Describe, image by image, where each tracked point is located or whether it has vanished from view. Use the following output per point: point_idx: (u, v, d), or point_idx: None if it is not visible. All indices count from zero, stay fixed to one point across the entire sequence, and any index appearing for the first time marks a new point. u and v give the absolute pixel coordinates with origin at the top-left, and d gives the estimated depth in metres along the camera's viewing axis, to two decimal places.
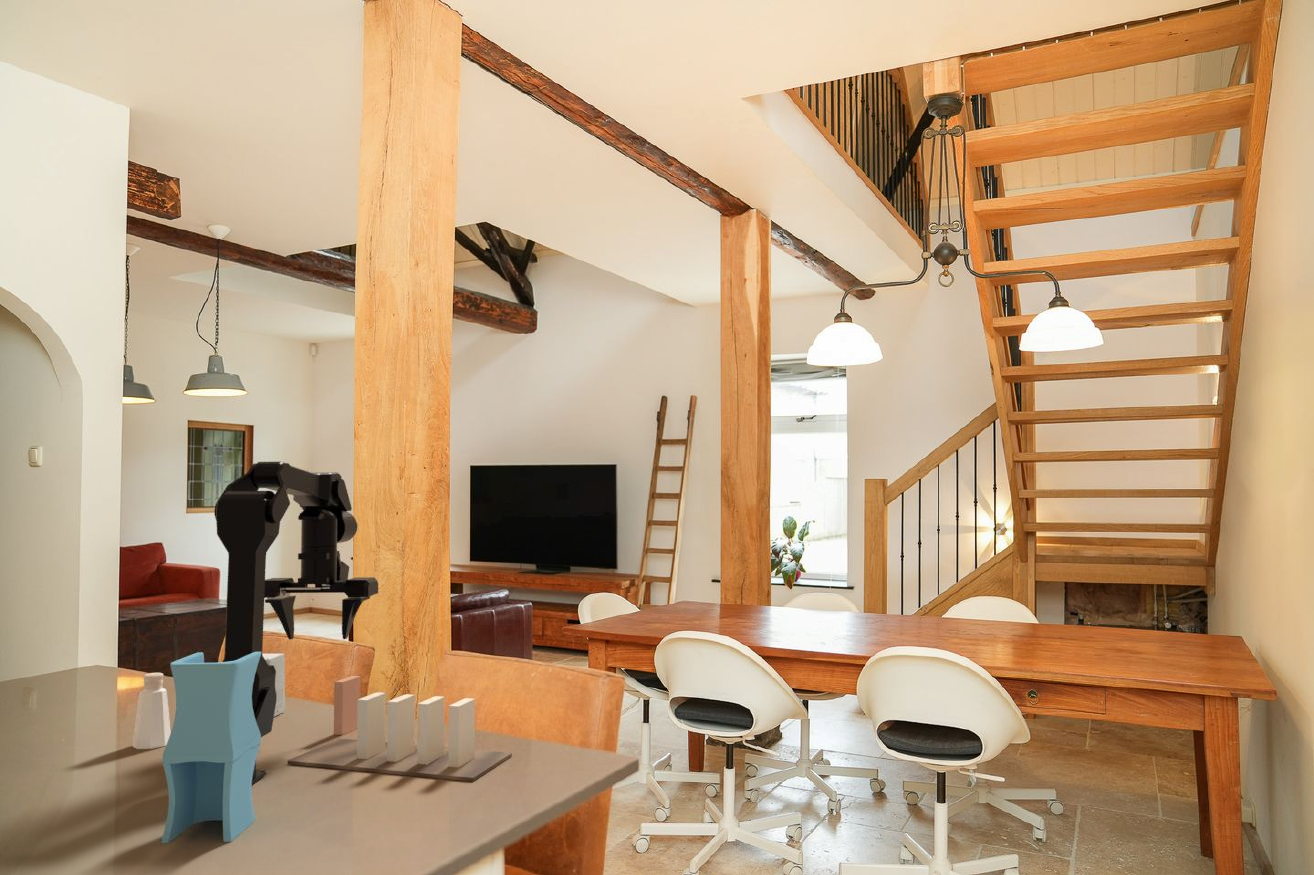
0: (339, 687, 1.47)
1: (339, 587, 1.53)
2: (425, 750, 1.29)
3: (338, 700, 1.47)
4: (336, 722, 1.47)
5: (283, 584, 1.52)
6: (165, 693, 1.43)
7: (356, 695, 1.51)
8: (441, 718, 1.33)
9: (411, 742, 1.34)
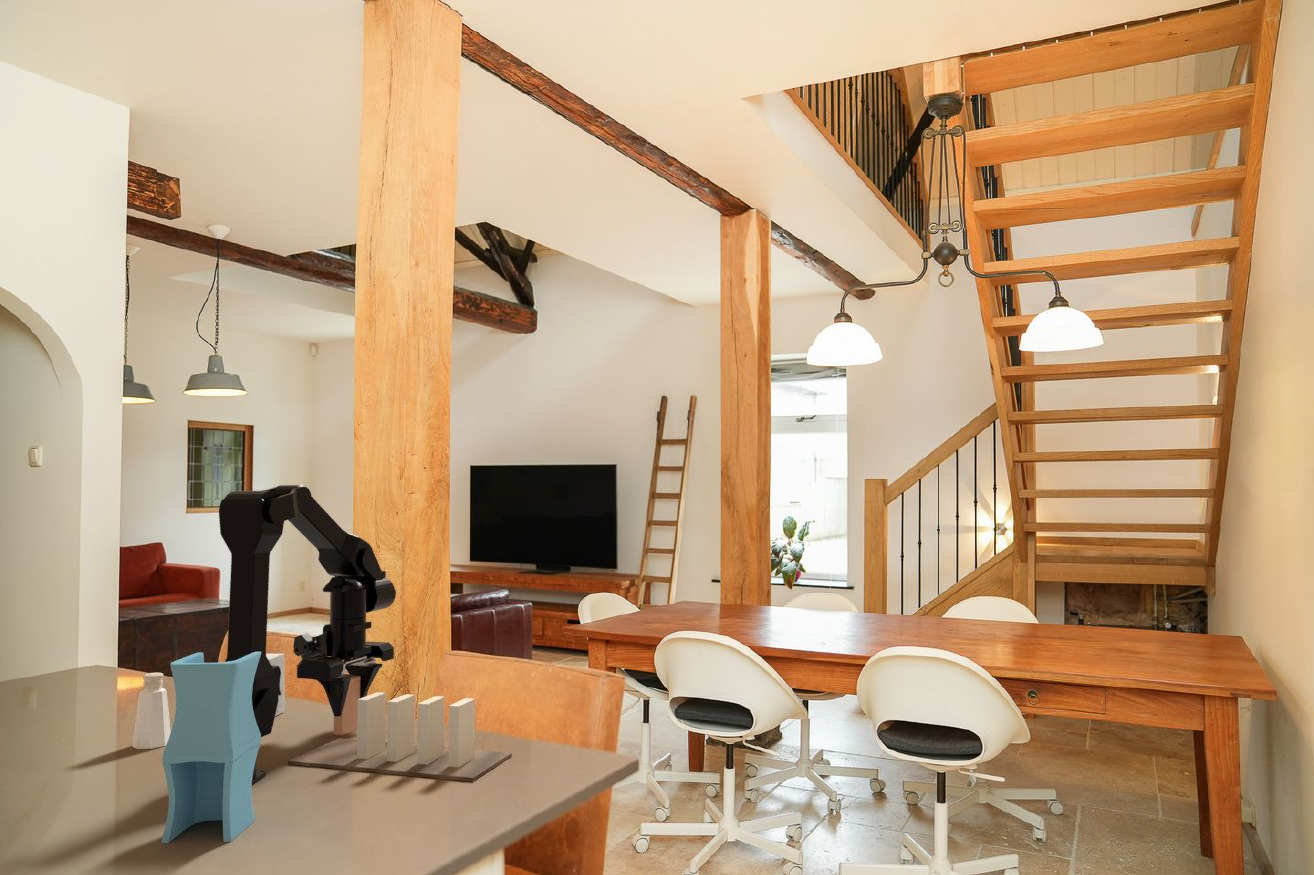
0: None
1: (363, 655, 1.53)
2: (425, 750, 1.29)
3: None
4: (336, 722, 1.47)
5: None
6: (165, 693, 1.43)
7: (356, 695, 1.51)
8: (441, 718, 1.33)
9: (411, 742, 1.34)
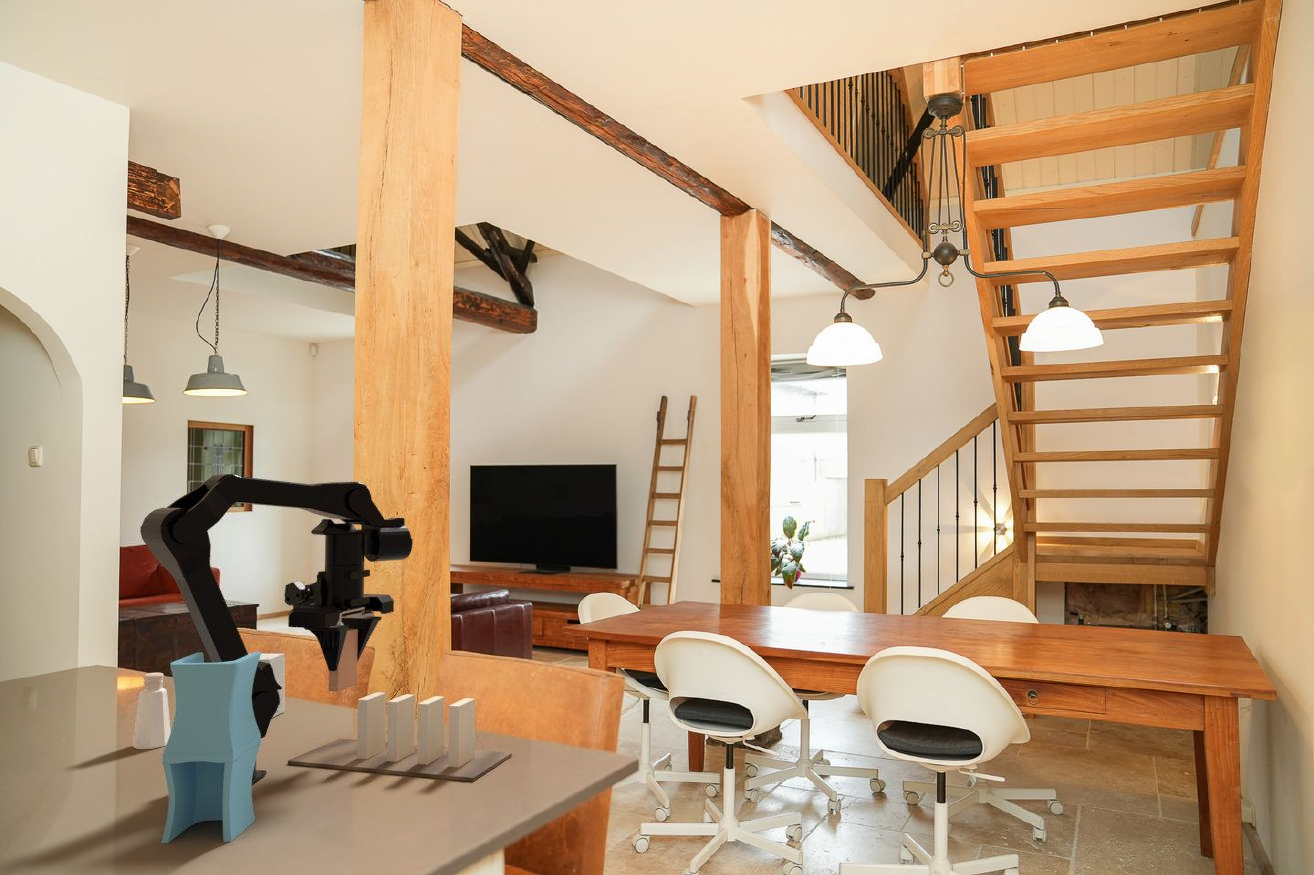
0: None
1: (361, 606, 1.41)
2: (425, 750, 1.29)
3: None
4: (331, 677, 1.35)
5: None
6: (165, 693, 1.43)
7: (353, 650, 1.38)
8: (441, 718, 1.33)
9: (411, 742, 1.34)
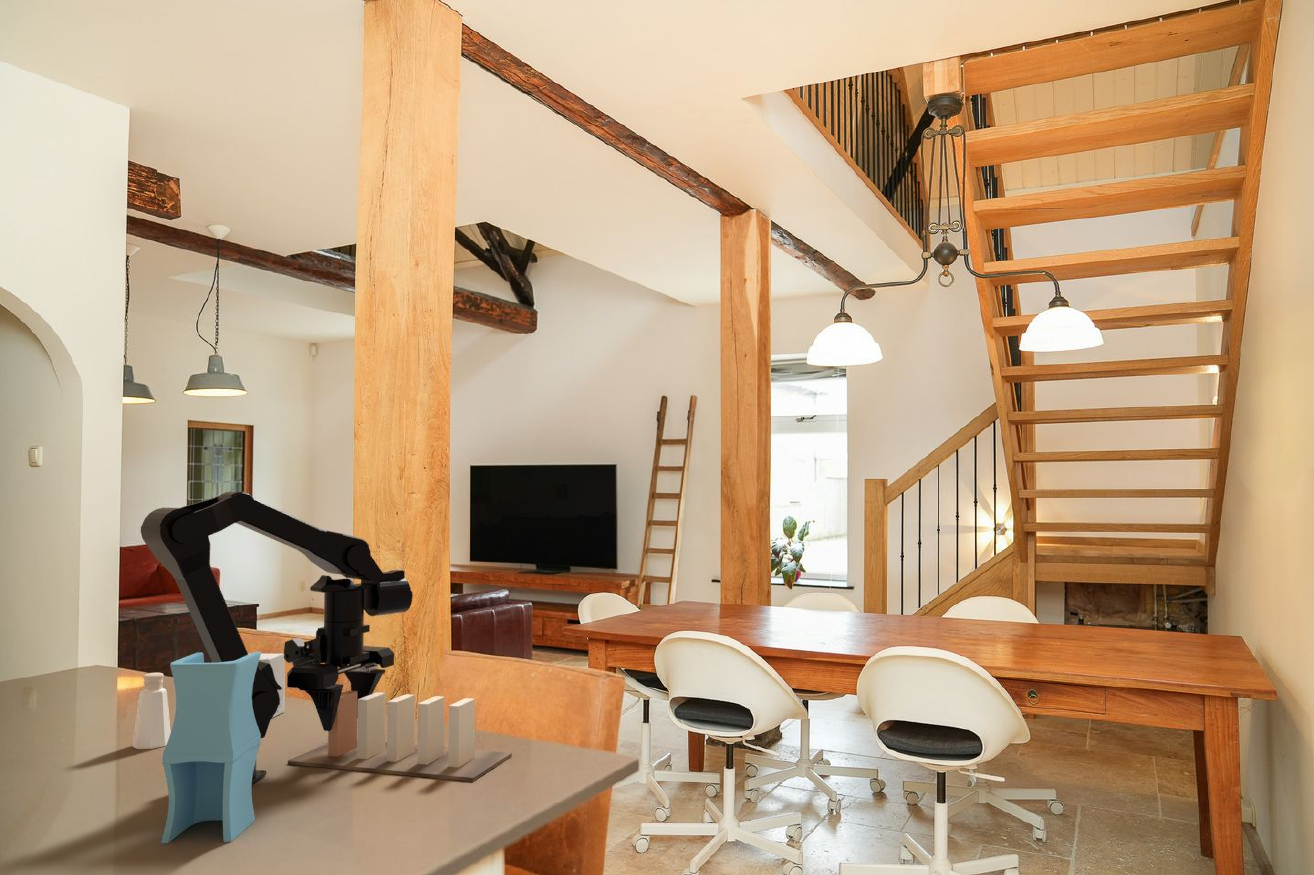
0: None
1: (361, 661, 1.40)
2: (425, 750, 1.29)
3: None
4: (331, 742, 1.34)
5: None
6: (165, 693, 1.43)
7: (352, 712, 1.37)
8: (441, 718, 1.33)
9: (411, 742, 1.34)
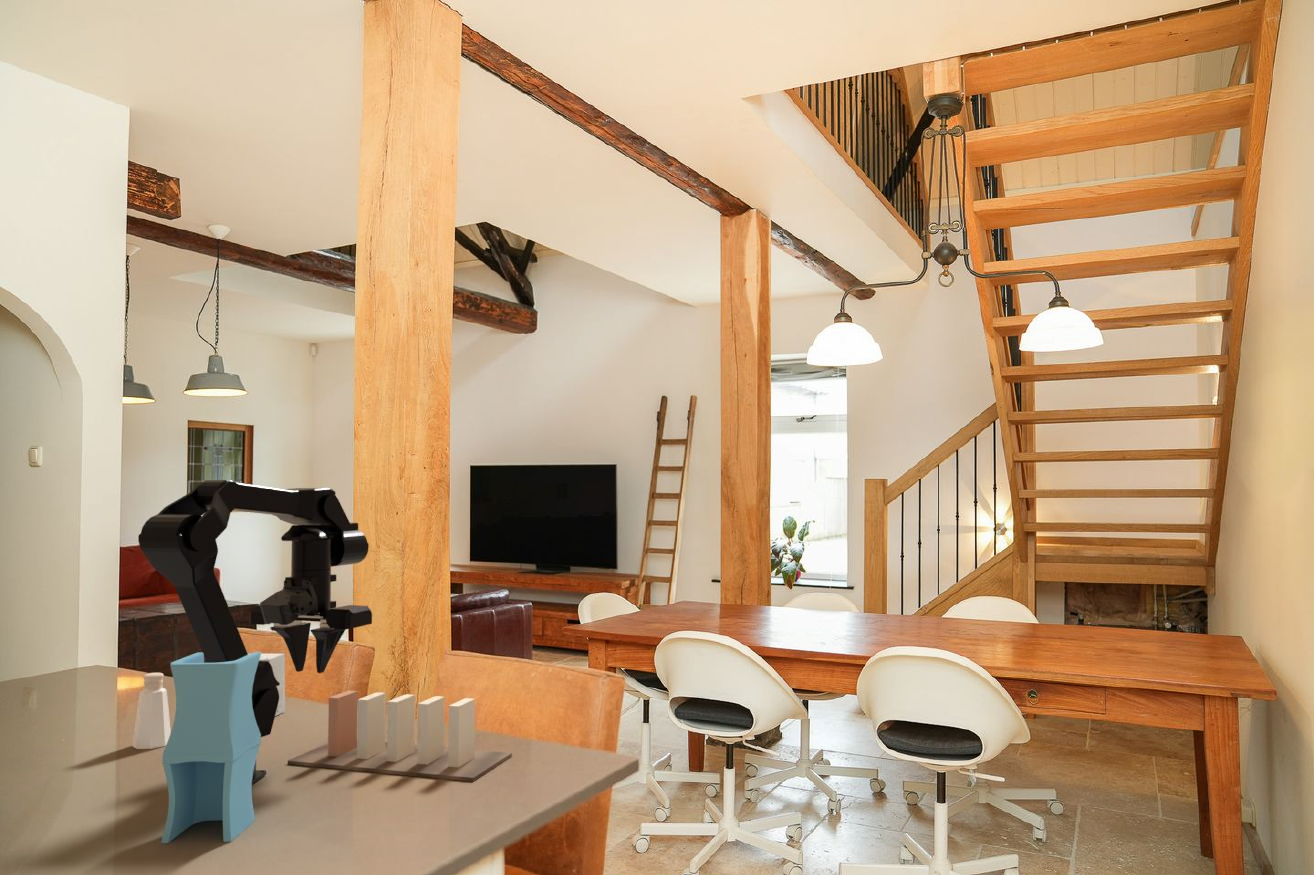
0: (334, 703, 1.34)
1: None
2: (425, 750, 1.29)
3: (332, 718, 1.34)
4: (331, 742, 1.34)
5: None
6: (165, 693, 1.43)
7: (352, 712, 1.37)
8: (441, 718, 1.33)
9: (411, 742, 1.34)
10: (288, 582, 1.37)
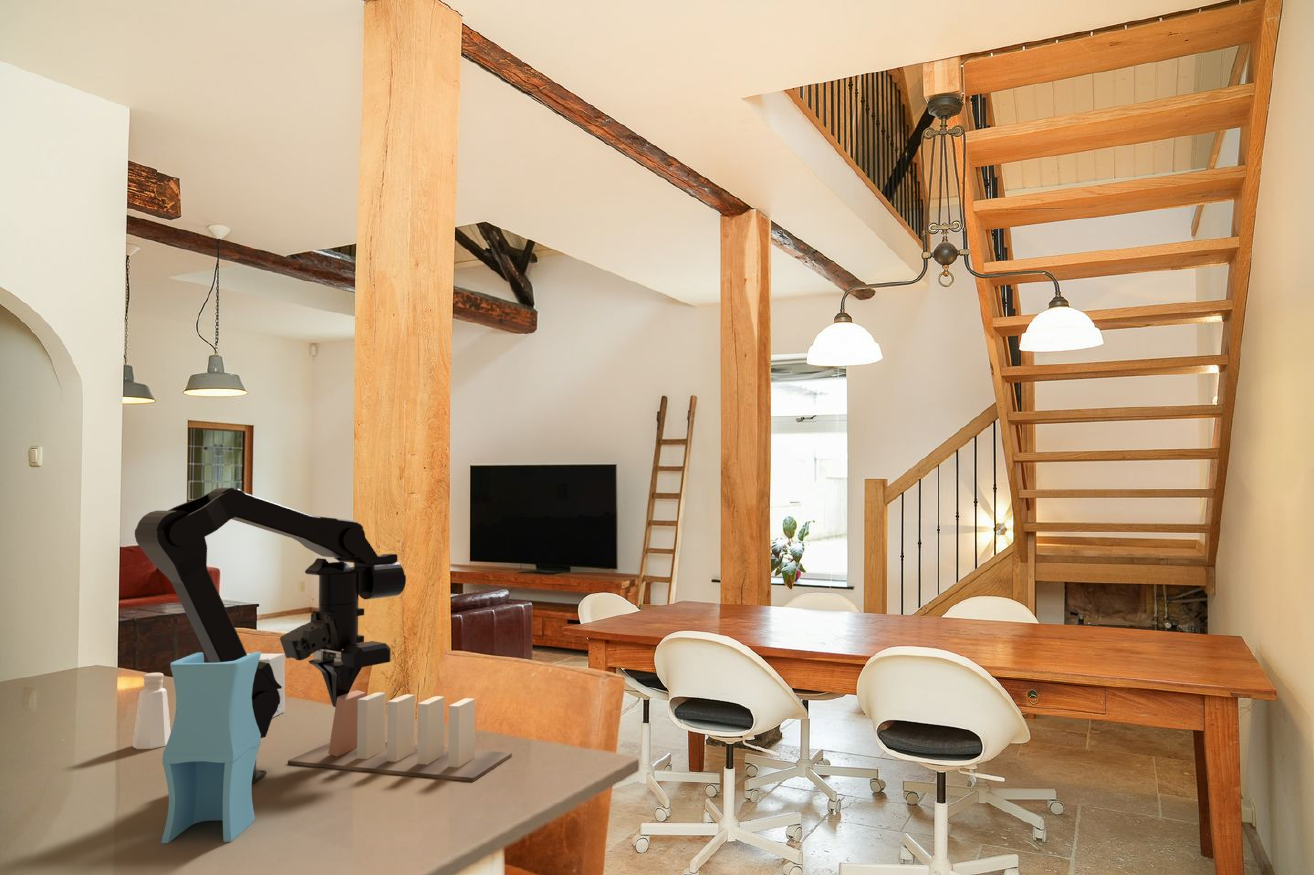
0: (341, 704, 1.34)
1: None
2: (425, 750, 1.29)
3: (338, 718, 1.34)
4: (333, 741, 1.34)
5: None
6: (165, 693, 1.43)
7: None
8: (441, 718, 1.33)
9: (411, 742, 1.34)
10: (313, 615, 1.36)
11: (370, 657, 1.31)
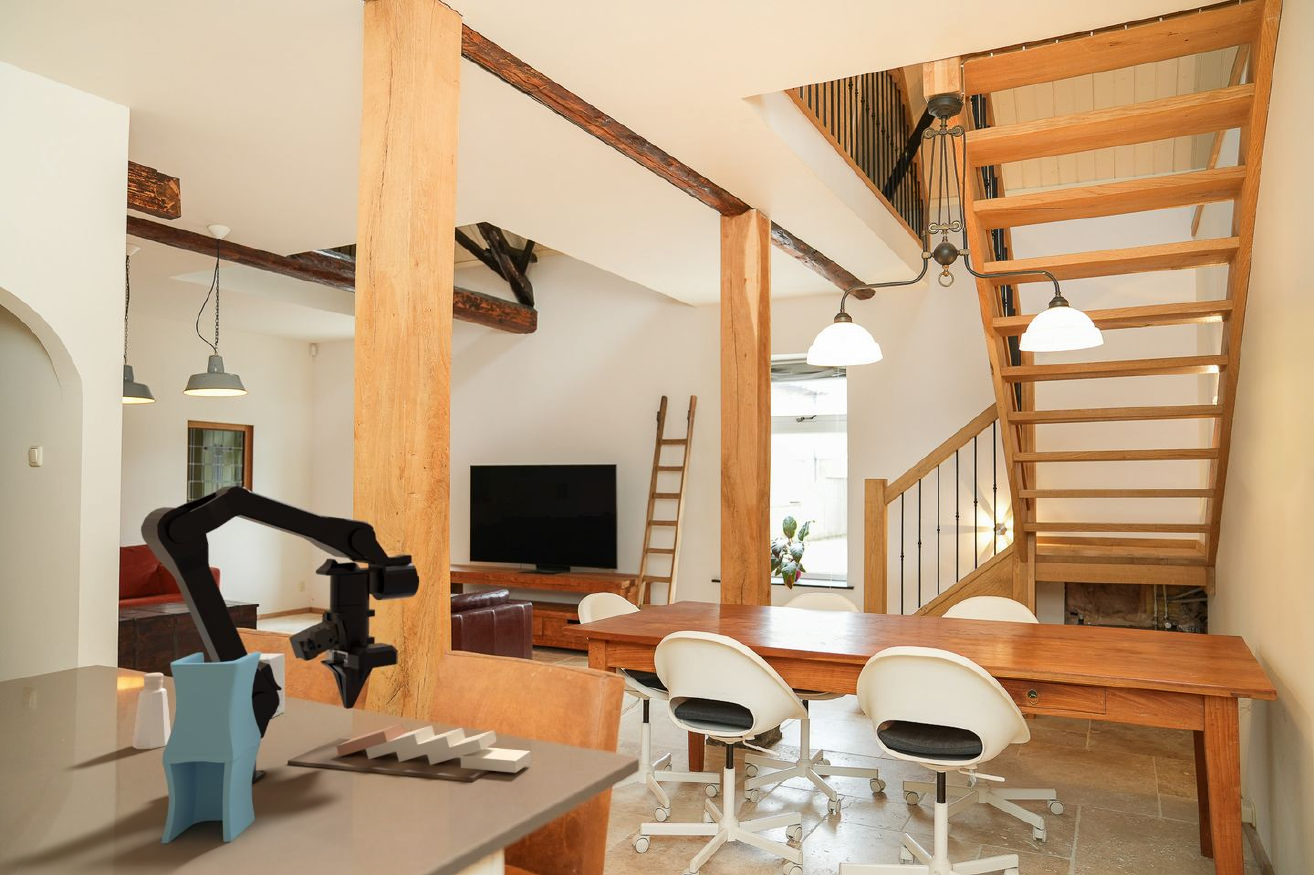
0: (380, 739, 1.31)
1: None
2: (441, 759, 1.29)
3: (368, 741, 1.32)
4: (348, 745, 1.33)
5: None
6: (165, 693, 1.43)
7: None
8: None
9: None
10: (324, 615, 1.36)
11: (375, 659, 1.29)
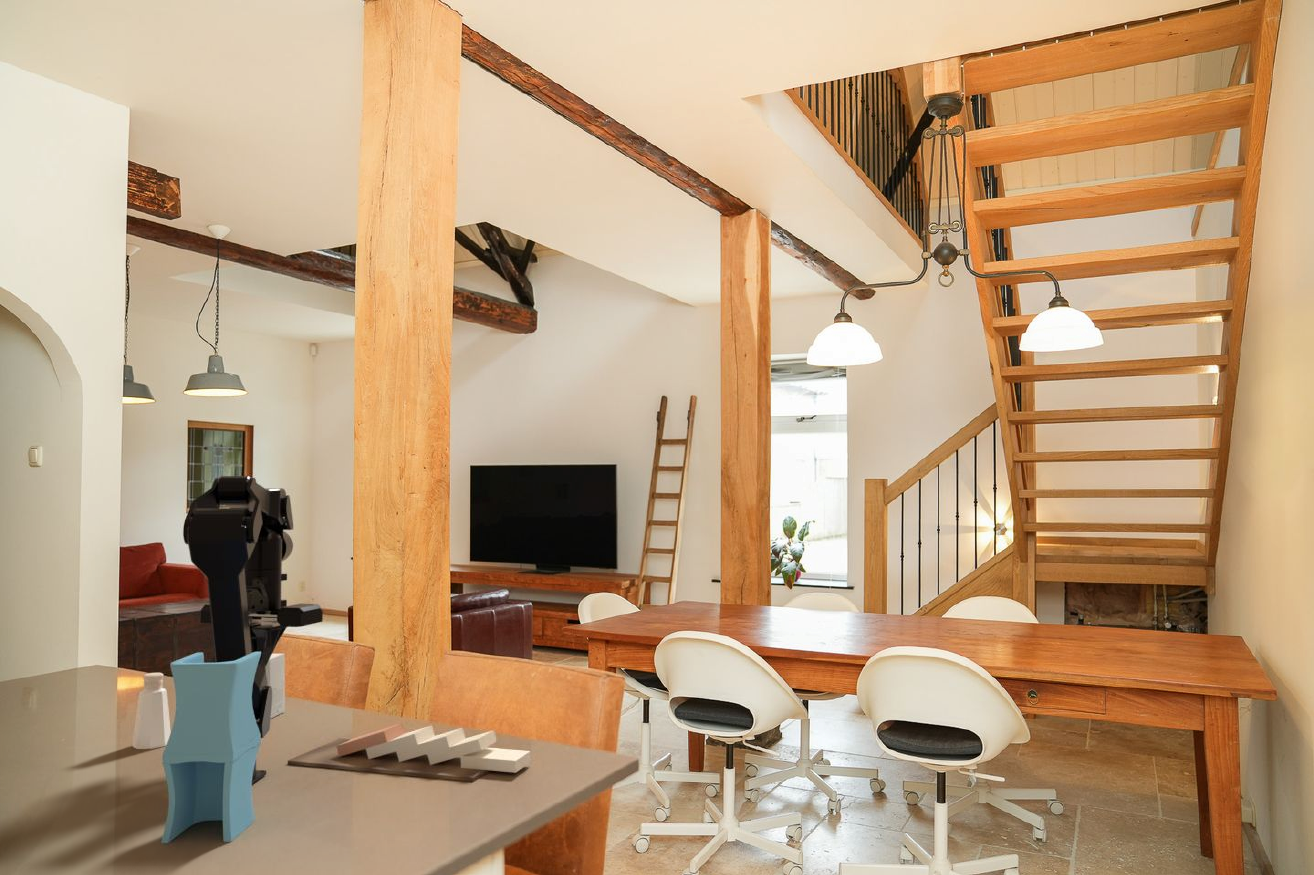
0: (380, 739, 1.31)
1: None
2: (441, 759, 1.29)
3: (368, 741, 1.32)
4: (348, 745, 1.33)
5: None
6: (165, 693, 1.43)
7: None
8: None
9: None
10: None
11: (308, 617, 1.37)
